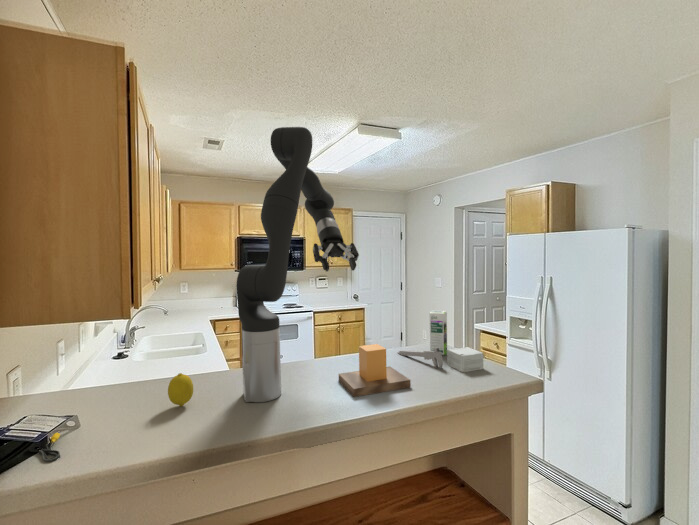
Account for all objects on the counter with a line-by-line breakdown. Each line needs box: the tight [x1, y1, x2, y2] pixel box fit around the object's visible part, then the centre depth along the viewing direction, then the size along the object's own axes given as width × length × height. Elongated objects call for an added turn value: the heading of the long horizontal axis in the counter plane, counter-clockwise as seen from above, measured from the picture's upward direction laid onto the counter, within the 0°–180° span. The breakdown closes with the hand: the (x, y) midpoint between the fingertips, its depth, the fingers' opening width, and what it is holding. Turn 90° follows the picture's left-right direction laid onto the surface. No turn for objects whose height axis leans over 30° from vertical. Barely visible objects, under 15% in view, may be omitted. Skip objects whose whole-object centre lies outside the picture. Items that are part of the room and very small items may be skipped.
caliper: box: [396, 348, 444, 369], centre depth 118 cm, size 20×1×6 cm, turn 32°
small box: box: [446, 346, 485, 373], centre depth 111 cm, size 8×8×5 cm
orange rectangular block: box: [358, 343, 387, 382], centre depth 98 cm, size 6×6×8 cm
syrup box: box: [429, 310, 448, 356], centre depth 126 cm, size 6×6×14 cm
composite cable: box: [39, 431, 61, 463], centre depth 68 cm, size 10×5×2 cm, turn 40°
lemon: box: [167, 372, 194, 407], centre depth 86 cm, size 6×6×8 cm
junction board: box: [338, 365, 412, 398], centre depth 98 cm, size 16×12×2 cm
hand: (341, 269), depth 112 cm, fingers open, 8 cm apart
